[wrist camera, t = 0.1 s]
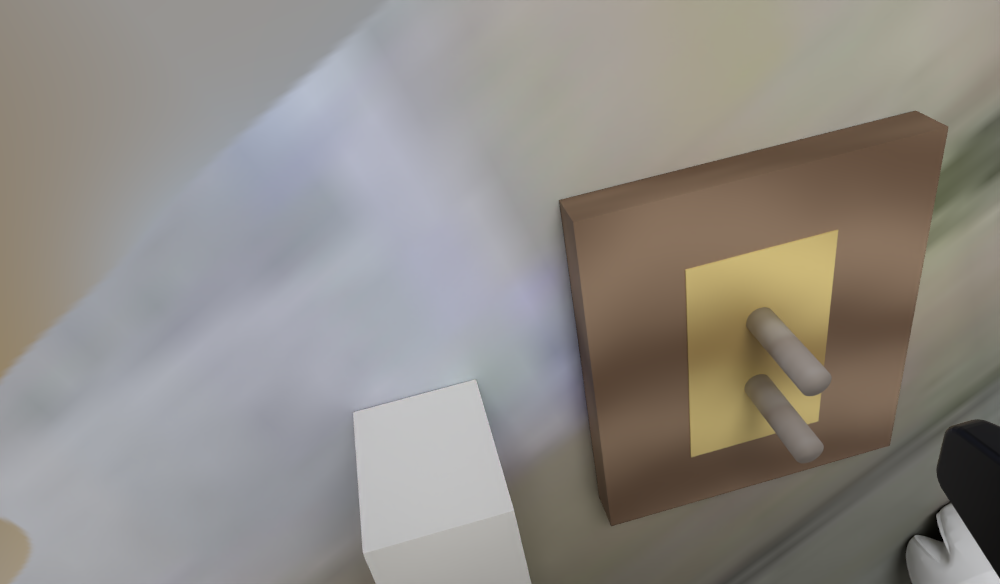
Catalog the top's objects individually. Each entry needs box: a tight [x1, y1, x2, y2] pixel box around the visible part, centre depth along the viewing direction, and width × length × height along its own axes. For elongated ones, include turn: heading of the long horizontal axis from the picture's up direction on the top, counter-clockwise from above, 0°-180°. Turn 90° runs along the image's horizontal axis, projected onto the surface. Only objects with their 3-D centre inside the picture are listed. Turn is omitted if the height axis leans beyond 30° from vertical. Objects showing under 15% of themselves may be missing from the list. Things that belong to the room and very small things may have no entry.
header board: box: [559, 111, 948, 526], centre depth 26 cm, size 14×12×5 cm
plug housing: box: [353, 379, 531, 584], centre depth 26 cm, size 8×4×6 cm, turn 9°
